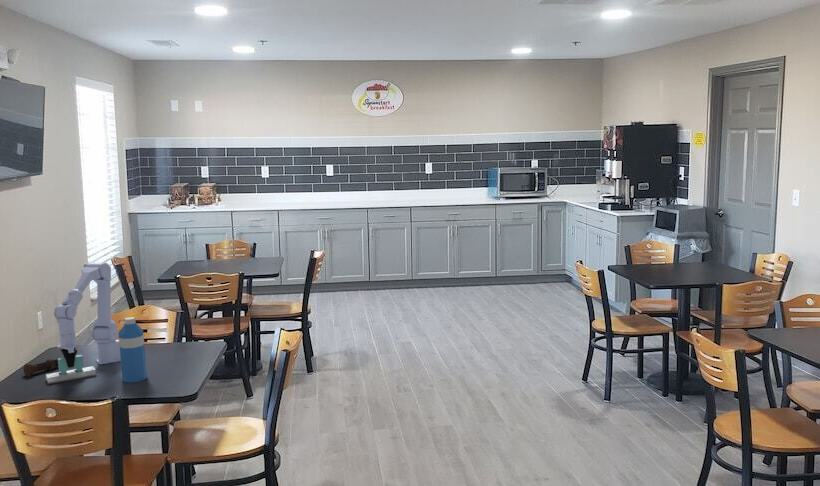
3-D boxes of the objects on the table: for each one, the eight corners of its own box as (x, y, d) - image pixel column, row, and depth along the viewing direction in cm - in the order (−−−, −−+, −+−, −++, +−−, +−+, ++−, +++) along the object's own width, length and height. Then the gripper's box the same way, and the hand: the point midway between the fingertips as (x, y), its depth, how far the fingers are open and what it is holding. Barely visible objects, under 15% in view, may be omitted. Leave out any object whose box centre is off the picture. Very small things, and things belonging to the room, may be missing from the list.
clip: (82, 369, 316) (81, 354, 315) (83, 371, 314) (82, 356, 313) (59, 374, 312) (57, 358, 311) (60, 375, 309) (58, 359, 309)
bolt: (61, 371, 330) (28, 379, 317) (55, 363, 332) (21, 372, 319) (65, 360, 328) (31, 368, 315) (58, 353, 330) (25, 361, 317)
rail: (93, 371, 320) (93, 366, 320) (96, 375, 315) (95, 369, 315) (46, 380, 311) (45, 374, 310) (48, 384, 306) (47, 378, 305)
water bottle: (151, 376, 312) (147, 316, 308) (136, 383, 303) (131, 321, 299) (132, 374, 315) (127, 315, 311) (117, 381, 306) (112, 320, 303)
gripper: (53, 331, 314) (57, 363, 316) (59, 339, 302) (62, 372, 304) (72, 329, 318) (75, 360, 320) (78, 336, 306) (81, 369, 308)
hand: (70, 366), depth 312 cm, fingers closed on clip, 2 cm apart
